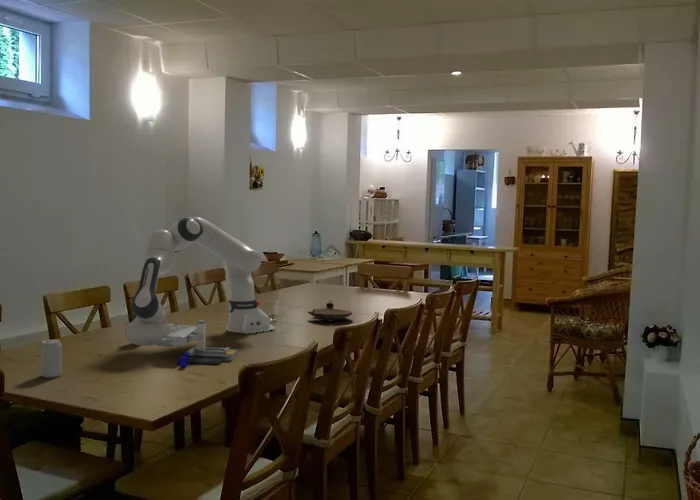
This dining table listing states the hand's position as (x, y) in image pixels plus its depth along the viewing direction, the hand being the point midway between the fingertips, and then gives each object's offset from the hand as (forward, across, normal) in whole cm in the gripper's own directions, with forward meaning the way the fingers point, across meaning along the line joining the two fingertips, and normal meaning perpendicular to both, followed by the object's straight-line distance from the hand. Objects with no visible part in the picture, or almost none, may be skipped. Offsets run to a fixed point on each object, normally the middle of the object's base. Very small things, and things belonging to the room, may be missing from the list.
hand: (203, 336), depth 253 cm
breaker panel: (+3, 0, +8) cm, 9 cm away
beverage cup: (-32, +20, +8) cm, 38 cm away
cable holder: (-4, -13, +8) cm, 16 cm away
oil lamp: (+44, +86, +8) cm, 97 cm away
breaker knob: (-1, 0, +6) cm, 6 cm away
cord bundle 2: (+3, +10, +8) cm, 13 cm away
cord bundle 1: (+3, -10, +8) cm, 13 cm away
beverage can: (-43, -34, +8) cm, 55 cm away
